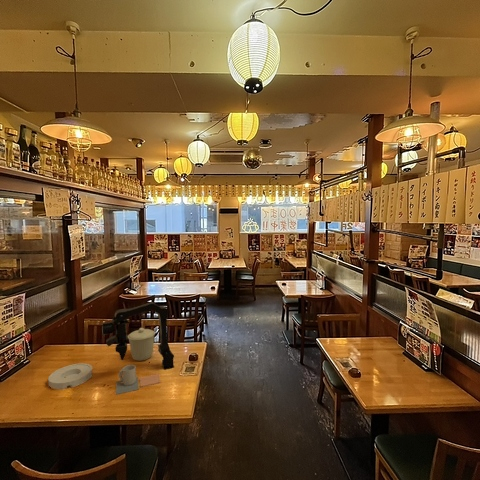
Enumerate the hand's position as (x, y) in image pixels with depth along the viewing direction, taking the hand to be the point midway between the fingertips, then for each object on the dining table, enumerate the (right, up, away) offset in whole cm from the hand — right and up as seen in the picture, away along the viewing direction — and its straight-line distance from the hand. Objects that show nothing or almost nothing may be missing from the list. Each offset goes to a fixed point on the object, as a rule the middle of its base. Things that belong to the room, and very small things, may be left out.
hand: (122, 356), depth 172 cm
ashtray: (-33, -15, +2) cm, 36 cm away
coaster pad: (+17, -14, -3) cm, 22 cm away
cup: (+5, -14, -4) cm, 15 cm away
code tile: (+6, -14, -7) cm, 17 cm away
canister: (+2, -12, +28) cm, 31 cm away
